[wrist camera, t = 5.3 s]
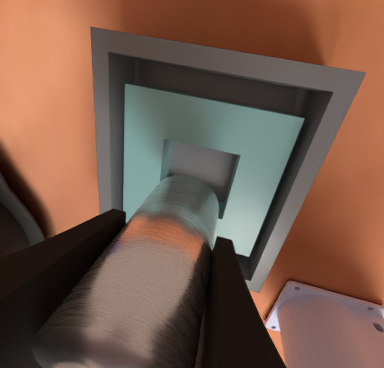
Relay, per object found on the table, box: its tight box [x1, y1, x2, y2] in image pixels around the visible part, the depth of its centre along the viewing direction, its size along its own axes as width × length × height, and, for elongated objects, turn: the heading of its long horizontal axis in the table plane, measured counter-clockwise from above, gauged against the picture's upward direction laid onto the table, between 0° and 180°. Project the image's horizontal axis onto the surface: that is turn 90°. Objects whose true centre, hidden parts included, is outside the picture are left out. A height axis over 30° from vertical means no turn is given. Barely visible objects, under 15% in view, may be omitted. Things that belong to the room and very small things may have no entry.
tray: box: [90, 27, 366, 293], centre depth 16 cm, size 14×16×4 cm
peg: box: [32, 175, 219, 368], centre depth 8 cm, size 4×4×8 cm
